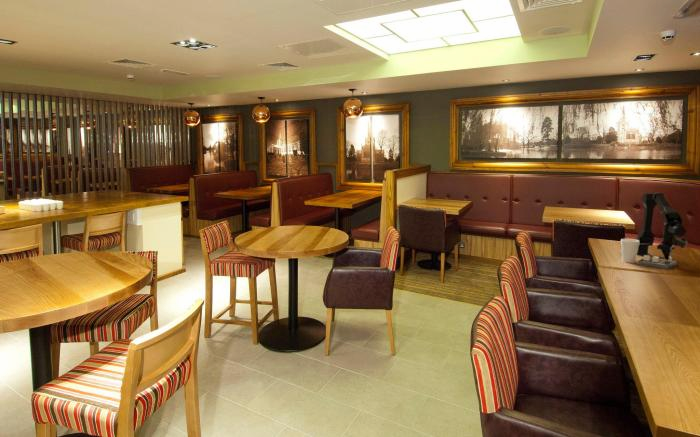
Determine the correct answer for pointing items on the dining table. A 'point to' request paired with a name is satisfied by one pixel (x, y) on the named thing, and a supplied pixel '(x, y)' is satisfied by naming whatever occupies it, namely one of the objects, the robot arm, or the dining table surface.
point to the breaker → (646, 257)
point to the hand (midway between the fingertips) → (666, 259)
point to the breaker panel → (657, 263)
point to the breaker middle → (655, 259)
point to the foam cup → (629, 250)
